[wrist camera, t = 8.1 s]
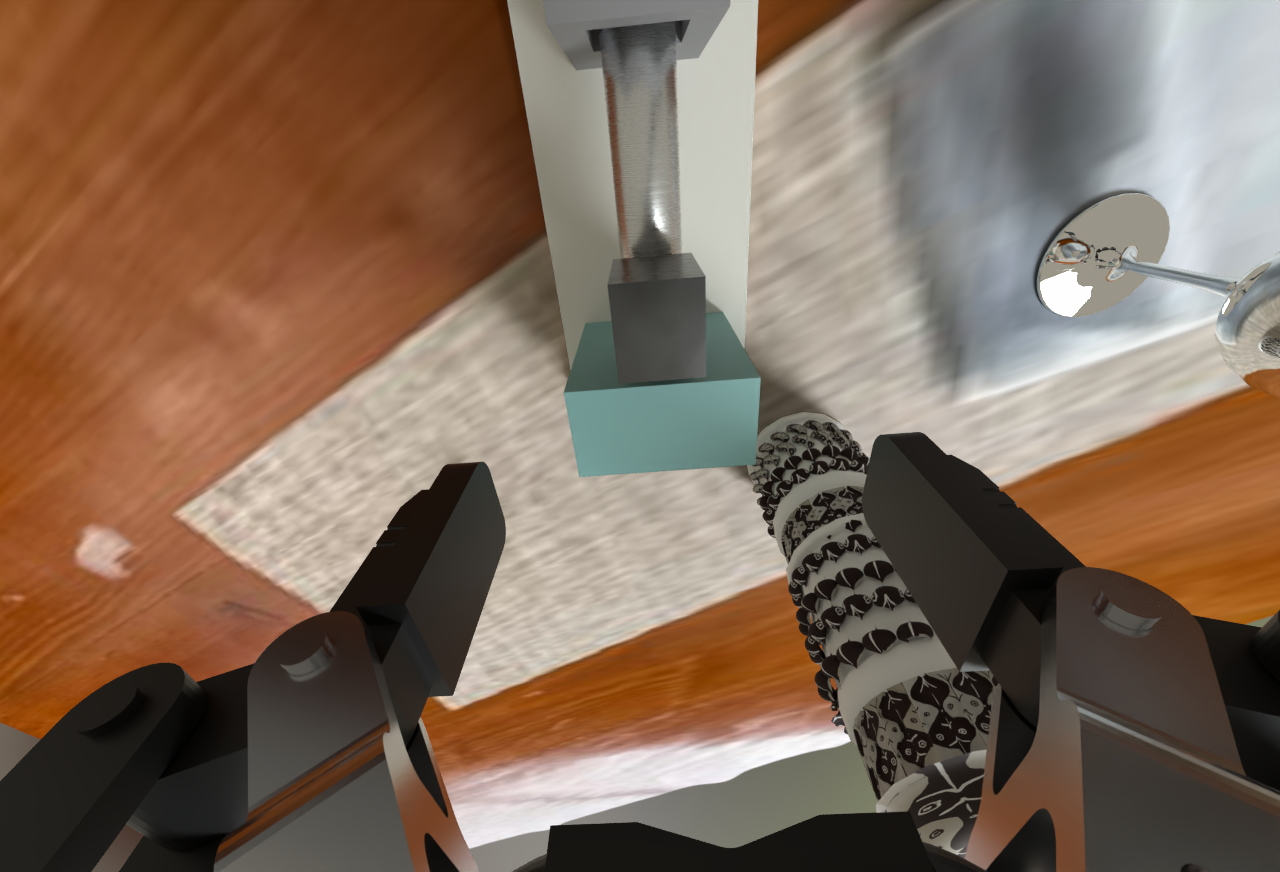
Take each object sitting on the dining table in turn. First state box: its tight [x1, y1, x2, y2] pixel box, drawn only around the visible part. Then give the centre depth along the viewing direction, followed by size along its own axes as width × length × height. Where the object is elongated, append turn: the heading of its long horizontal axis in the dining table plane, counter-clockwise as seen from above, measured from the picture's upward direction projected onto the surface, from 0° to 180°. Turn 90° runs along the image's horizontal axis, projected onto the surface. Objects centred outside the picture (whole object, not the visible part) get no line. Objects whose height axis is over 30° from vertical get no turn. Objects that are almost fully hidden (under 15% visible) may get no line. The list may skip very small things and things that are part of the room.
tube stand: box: [507, 0, 758, 371], centre depth 21 cm, size 32×12×11 cm, turn 5°
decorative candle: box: [747, 412, 998, 859], centre depth 27 cm, size 9×9×25 cm
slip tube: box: [599, 21, 706, 384], centre depth 19 cm, size 21×4×8 cm, turn 5°
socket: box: [564, 312, 761, 477], centre depth 27 cm, size 5×9×10 cm, turn 95°
